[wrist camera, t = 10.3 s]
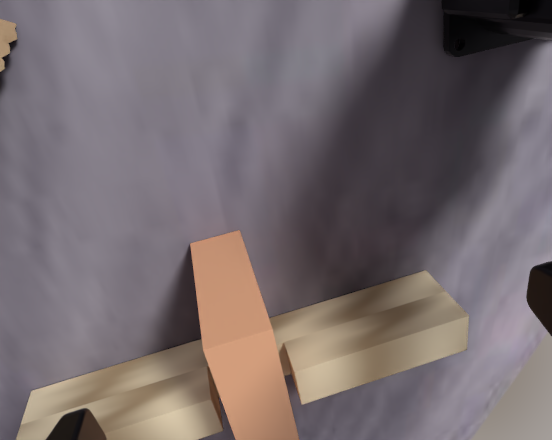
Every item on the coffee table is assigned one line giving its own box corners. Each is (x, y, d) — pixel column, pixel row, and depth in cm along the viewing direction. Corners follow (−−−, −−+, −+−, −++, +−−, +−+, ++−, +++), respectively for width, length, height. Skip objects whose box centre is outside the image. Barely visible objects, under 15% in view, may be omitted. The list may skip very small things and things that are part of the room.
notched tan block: (286, 413, 28) (321, 531, 22) (249, 425, 27) (275, 548, 21) (239, 230, 21) (272, 329, 15) (190, 243, 20) (203, 350, 14)
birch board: (425, 270, 25) (468, 315, 21) (426, 301, 26) (466, 350, 22) (31, 390, 22) (7, 464, 19) (51, 419, 23) (33, 494, 20)
